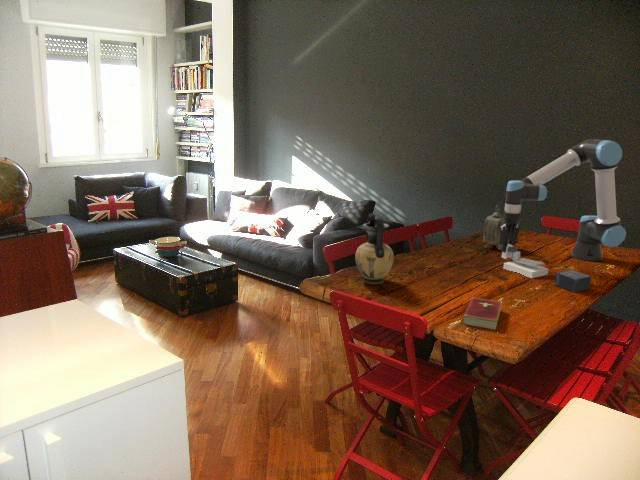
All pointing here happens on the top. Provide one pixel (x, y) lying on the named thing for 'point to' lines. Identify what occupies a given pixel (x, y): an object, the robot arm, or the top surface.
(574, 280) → the small box
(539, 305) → the top surface
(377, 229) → the amphora
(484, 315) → the hardcover book
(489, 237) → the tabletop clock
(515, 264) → the board
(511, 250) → the dark gray bar
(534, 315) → the top surface
